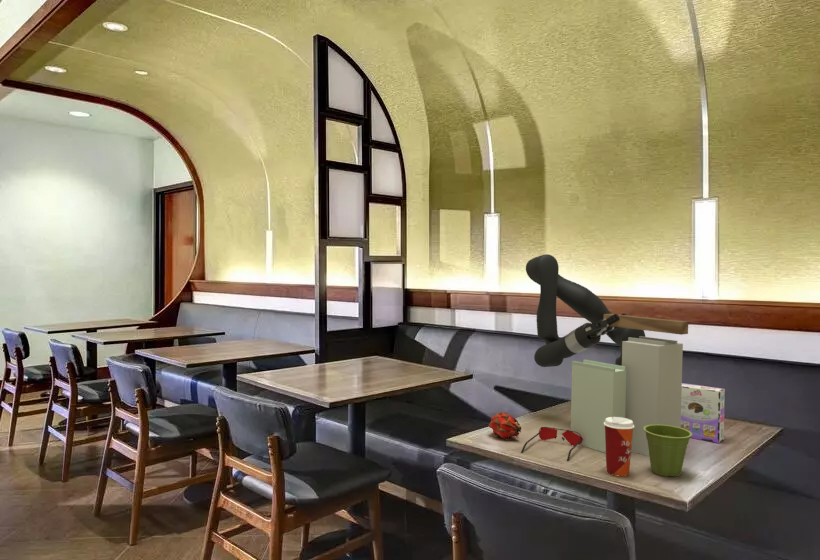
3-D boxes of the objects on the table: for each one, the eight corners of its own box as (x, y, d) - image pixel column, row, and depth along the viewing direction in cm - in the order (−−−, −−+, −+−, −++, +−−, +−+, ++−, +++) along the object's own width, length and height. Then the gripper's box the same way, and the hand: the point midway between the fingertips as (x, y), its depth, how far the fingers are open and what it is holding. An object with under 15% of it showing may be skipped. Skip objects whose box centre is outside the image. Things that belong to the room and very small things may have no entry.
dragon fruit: (491, 436, 192) (518, 451, 183) (477, 425, 187) (504, 440, 178) (505, 414, 194) (532, 428, 185) (492, 402, 189) (519, 416, 180)
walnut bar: (610, 324, 189) (610, 313, 189) (688, 333, 168) (688, 321, 168) (603, 325, 187) (603, 314, 187) (681, 334, 166) (681, 322, 166)
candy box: (724, 440, 187) (726, 388, 186) (718, 444, 183) (720, 391, 182) (679, 431, 196) (680, 381, 196) (672, 434, 192) (674, 384, 191)
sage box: (583, 438, 186) (584, 359, 185) (624, 451, 174) (626, 366, 173) (570, 441, 183) (572, 361, 182) (611, 454, 170) (613, 368, 170)
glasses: (583, 447, 178) (584, 431, 178) (568, 463, 164) (568, 445, 164) (538, 440, 185) (539, 424, 185) (520, 454, 171) (520, 437, 171)
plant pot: (641, 476, 153) (642, 433, 153) (643, 462, 164) (644, 422, 164) (691, 483, 149) (692, 439, 148) (690, 469, 159) (691, 427, 159)
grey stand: (643, 441, 184) (646, 335, 183) (679, 451, 174) (682, 340, 173) (619, 447, 177) (622, 338, 176) (656, 458, 168) (659, 342, 167)
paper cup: (629, 480, 151) (631, 425, 150) (599, 474, 155) (600, 420, 154) (636, 471, 157) (637, 418, 157) (606, 465, 161) (607, 414, 161)
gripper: (563, 329, 193) (602, 306, 181) (591, 326, 201) (630, 304, 189) (572, 350, 190) (612, 328, 178) (600, 347, 199) (640, 326, 186)
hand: (621, 316), depth 183 cm, fingers closed on walnut bar, 3 cm apart
